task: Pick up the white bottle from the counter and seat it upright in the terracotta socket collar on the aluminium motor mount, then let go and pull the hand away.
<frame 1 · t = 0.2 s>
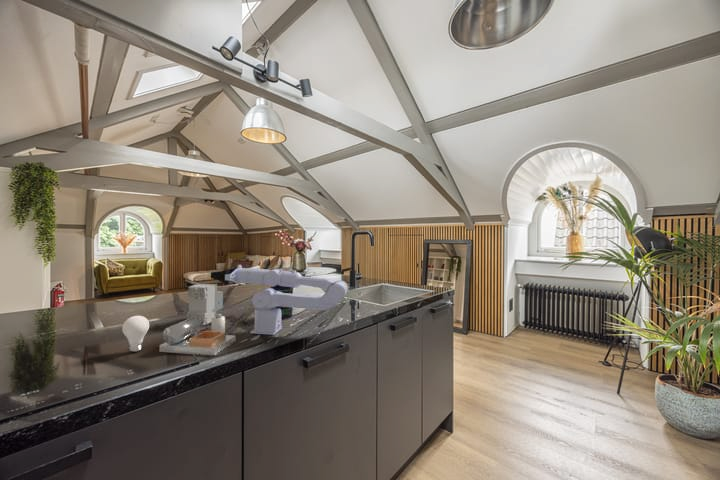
hand: (217, 274, 113), 21 cm above the countertop, tool horizontal, fingers open, 7 cm apart
circuit breaker: (206, 320, 124), on the countertop
white bottle: (218, 334, 107), on the countertop
storage jar: (281, 317, 131), on the countertop
motor: (199, 346, 95), on the countertop
light bulb: (135, 352, 90), on the countertop
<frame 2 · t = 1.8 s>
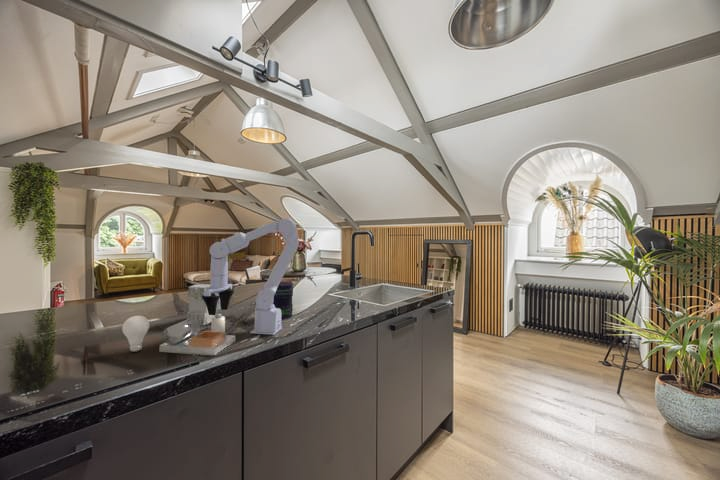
hand: (218, 312, 107), 8 cm above the countertop, tool pointing down, fingers open, 7 cm apart
nothing on the countertop moved.
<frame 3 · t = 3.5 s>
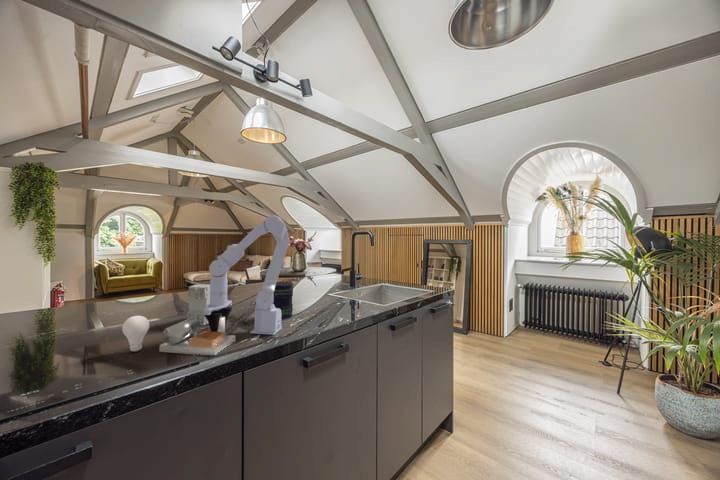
hand: (218, 329, 107), 2 cm above the countertop, tool pointing down, fingers closed on white bottle, 4 cm apart
white bottle: (218, 333, 107), on the countertop, touching gripper
everything else where it was.
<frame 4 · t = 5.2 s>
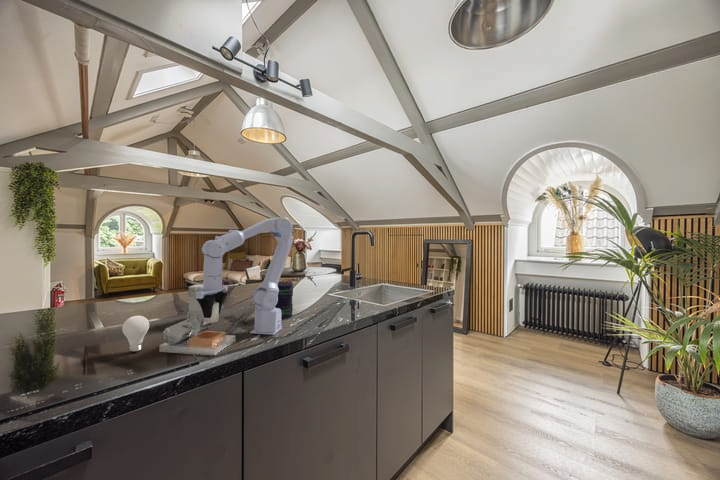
hand: (212, 315, 99), 9 cm above the countertop, tool pointing down, fingers closed on white bottle, 4 cm apart
white bottle: (211, 321, 99), point 7 cm above the countertop, touching gripper
everything else where it was.
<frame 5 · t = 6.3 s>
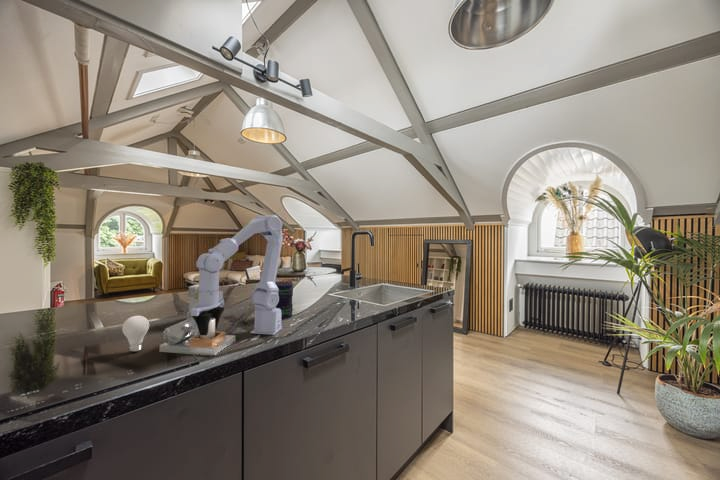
hand: (208, 332, 95), 5 cm above the countertop, tool pointing down, fingers closed on white bottle, 4 cm apart
white bottle: (207, 337, 95), point 3 cm above the countertop, touching gripper
everything else where it was.
when the fingers open (5 cm above the countertop, at t = 7.2 s): white bottle stays where it is, resting on motor.
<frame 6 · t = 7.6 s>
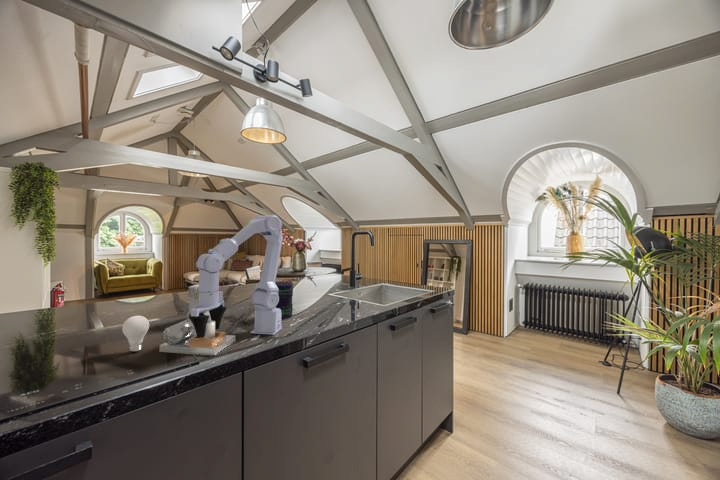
hand: (208, 332, 95), 5 cm above the countertop, tool pointing down, fingers open, 7 cm apart
white bottle: (207, 340, 95), point 2 cm above the countertop, touching motor
everything else where it was.
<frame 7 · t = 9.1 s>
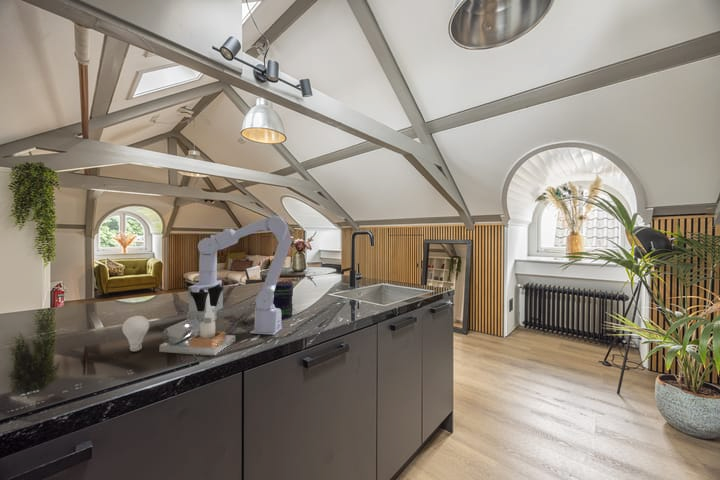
hand: (207, 308, 106), 9 cm above the countertop, tool pointing down, fingers open, 7 cm apart
nothing on the countertop moved.
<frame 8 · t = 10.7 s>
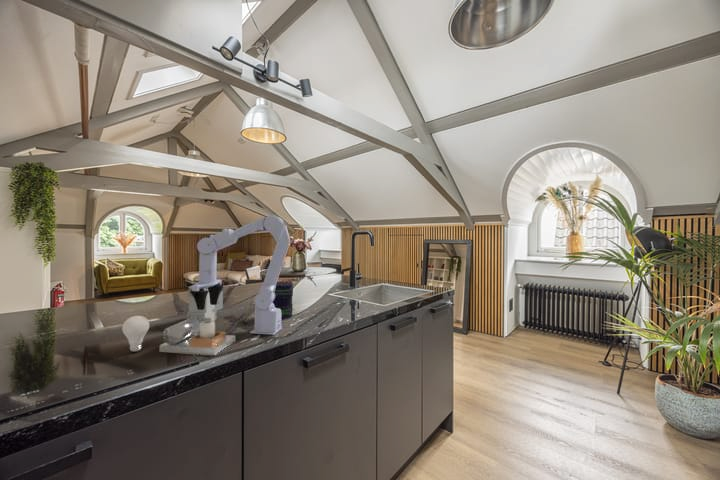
hand: (207, 307, 108), 9 cm above the countertop, tool pointing down, fingers open, 7 cm apart
nothing on the countertop moved.
at the end: white bottle 0.3 cm from the target spot on the motor, point 2.0 cm above the motor's base; white bottle tilted 1°; the gripper is holding nothing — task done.
